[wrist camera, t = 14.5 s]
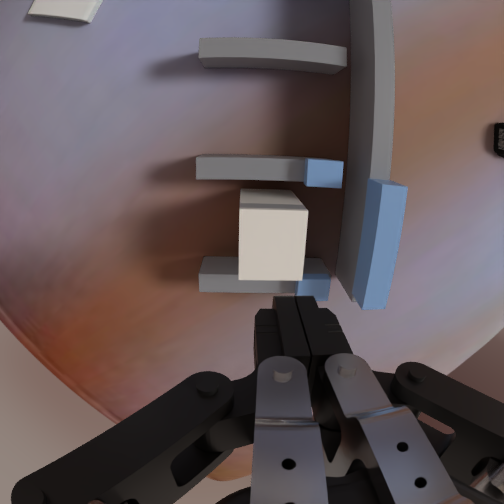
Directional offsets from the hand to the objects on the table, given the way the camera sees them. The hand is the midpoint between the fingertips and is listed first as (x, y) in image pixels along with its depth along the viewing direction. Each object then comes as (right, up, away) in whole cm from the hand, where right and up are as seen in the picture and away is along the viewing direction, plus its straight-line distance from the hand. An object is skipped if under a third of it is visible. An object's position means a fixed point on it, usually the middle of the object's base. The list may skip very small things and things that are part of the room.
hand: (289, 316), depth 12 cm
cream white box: (0, +5, +14) cm, 15 cm away
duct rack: (+1, +13, +10) cm, 17 cm away
